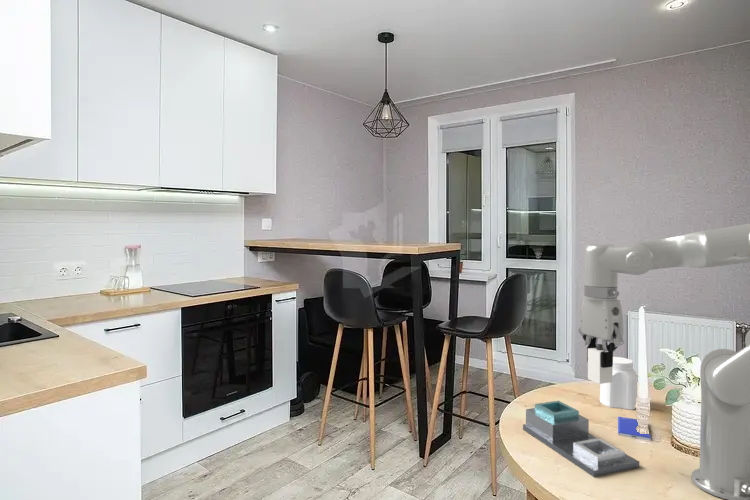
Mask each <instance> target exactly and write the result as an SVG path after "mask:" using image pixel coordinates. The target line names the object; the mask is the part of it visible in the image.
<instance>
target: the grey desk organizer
mask: <svg viewBox="0 0 750 500" xmlns="http://www.w3.org/2000/svg"><path fill="white" fill-rule="evenodd" d="M589 420H590V419H589V418H586V416H585V417H584V416H583V415H581V414H580V411H579V410H578V409H576V408H574V407H572V406H570V405H568V404H566V403H564V402H562V401H560V400H554V401H547V402H541V403H535V404H534V407H532V408H531V407H530V408H526V409H525V423H524V424H522V430H523V431H525V432H526V433H528V434H529V435H531V436H532V437H534V438H536V439H537V440H538V441H539V442H541V443H542V444H544V445H546V446H547V447H549V448H550V449H552V450H553V451H554V452H555V453H557V454H559V455H560V456H561V457H563V458H565V459H567V460H568V461H569V462H571V463H572V464H574V465H575V466H577V467H579V468H580V469H581V470H583V471H585V472H586V473H587V474H589V475H590V476H592V477H593V478H595V477H600V476H606V475H610V474H614V473H619V472H625V471H629V470H634V469H638V468H640V461H639V460H637V459H636V458H634V457H632V456H630V455H628V454H627V453H625V451H624V450H622V449H620V448H618V447H617V446H615V445H613V444H611V443H609V442H608V441H605V440H604V439H602V438H600V437H597V436H595V435H592V434H591V433H589V431H590V430H589V427H590V426H589V425H590V424H589V423H590V422H589Z"/></svg>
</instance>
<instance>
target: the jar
mask: <svg viewBox="0 0 750 500" xmlns="http://www.w3.org/2000/svg"><path fill="white" fill-rule="evenodd" d="M638 377H639V375H638V373H637V372H636V371H635V369H634V361H633V360H632V359H630V358H626V357H622V356H613V382H609V383H603V384H600V385H599V386H600V387H599V393H600V394H599V402H600V404H602V405H603V406H605V407H607V408H610V409H622V410H623V409H624V410H629V411H631V410H632V411H633V410H635V405H636V398H637V382H638V383H639V380H638Z"/></svg>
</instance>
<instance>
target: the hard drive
mask: <svg viewBox="0 0 750 500" xmlns="http://www.w3.org/2000/svg"><path fill="white" fill-rule="evenodd" d="M637 426H638V422H637V419H636V418H631V417H624V416H617V436H622V437H626V438H627V437H628V438H633V439H638V440H644V441H645V440H646V441H650V442H651V441H652V437H651V434H650V435H649V434H640V433H639V432H637V430H636V427H637Z"/></svg>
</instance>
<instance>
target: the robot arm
mask: <svg viewBox="0 0 750 500" xmlns="http://www.w3.org/2000/svg"><path fill="white" fill-rule="evenodd" d="M747 263H750V223H745V224H739V225H733V226H727V227H720V228H713V229H705V230H699V231H693V232H690V233H686V234H681V235H677V236H671V237H670V236H669V237H666V238H664V237H663V238H659V239H651V240H643V241H637V242H632V243H628V244H625V245H623V244H622V245H614V244H611V243H610V244H609V243H607V244H606V243H593V244H588V245H586V246H585V248H584V282H583V283H584V290H583V291H584V294H583V297H582V303H581V310H580V318H579V319H580V321H579V322H580V326H579V329H578V334H580V336H581V337H582V339H583V341H584V346H585V347H586V362H587V363H588V348H596V347H597V344H598V342H599V341H598V339H599V340H601V344H602V346H603V351H602V352H601V367H603V368H607V367H612V366H613V357H614V352H616V349H617V348H618V347H620V346H622V345H624V344H625V341H624V318H623V310H622V309H623V308H622V305H621V300H620V299H618V297H619V295H620V292H619V290H618V284H619V283H618V278H619V277H618V274H623V275H624V274H625V275H629V276H630V275H631V276H640V275H641V276H642V275H644V274H646V273H648V272H649V271H652V270H659V269H667V268H682V267H687V268H699V269H703V268H714V267H724V266H730V265H732V266H733V265H738V264H747ZM744 340H745V341H744V343H745V347H743V348H741V349H740V350H738V351H736V350H732V349H729V348H716V349H715V350H712V351H710V352H708V353H707V354H706V355H705V356H704V357H703V359H702V361H701V364H700V370H699V371H700V373H699V374H700V395H701V396H700V399H701V400H700V401H701V403H700V404H701V405H700V432H699V433H700V435H699V436H700V437H699V438H700V440H699V468H697V469H694V470H692V472H691V474H690V475H691V478H690V479H691V481H692V483H693V484H694V485H695V486H697V488H699V489H700V490H702V491H704V492H706V493H708V494H710V495H712V496H715V497H718V498H721V499H724V500H750V329H749V331H747V333H746V335H745V338H744Z"/></svg>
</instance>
